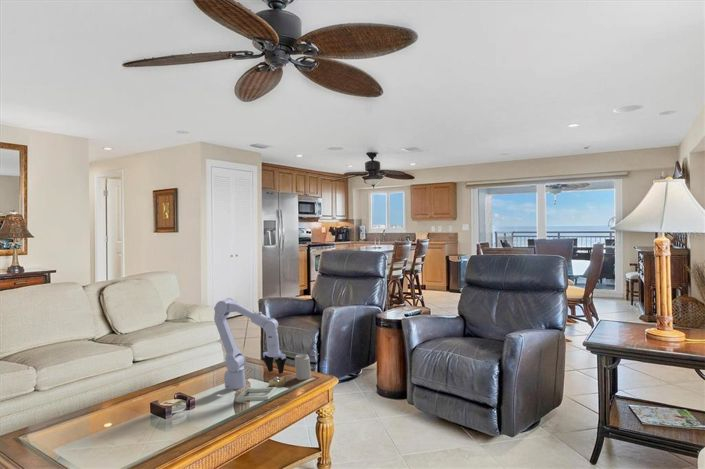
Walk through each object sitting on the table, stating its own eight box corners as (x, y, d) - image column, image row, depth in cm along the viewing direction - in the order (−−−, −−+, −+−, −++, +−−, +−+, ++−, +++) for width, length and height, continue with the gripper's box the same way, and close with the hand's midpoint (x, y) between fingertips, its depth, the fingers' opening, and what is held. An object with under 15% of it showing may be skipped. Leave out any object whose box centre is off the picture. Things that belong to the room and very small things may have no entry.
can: (310, 380, 210) (308, 356, 210) (295, 382, 210) (293, 357, 210) (312, 375, 218) (309, 352, 218) (297, 377, 218) (295, 353, 218)
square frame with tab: (276, 387, 203) (275, 382, 203) (269, 385, 206) (268, 380, 206) (288, 381, 209) (288, 377, 209) (281, 380, 213) (281, 375, 213)
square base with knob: (266, 389, 203) (265, 380, 203) (272, 383, 211) (271, 374, 211) (282, 388, 202) (281, 379, 202) (287, 383, 210) (286, 374, 210)
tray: (236, 402, 190) (236, 397, 190) (246, 393, 201) (246, 388, 201) (268, 401, 188) (268, 396, 188) (276, 391, 199) (276, 387, 199)
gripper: (289, 343, 205) (292, 371, 205) (269, 341, 215) (272, 368, 214) (278, 347, 200) (281, 376, 200) (258, 344, 209) (261, 372, 209)
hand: (275, 372), depth 207 cm, fingers open, 7 cm apart
